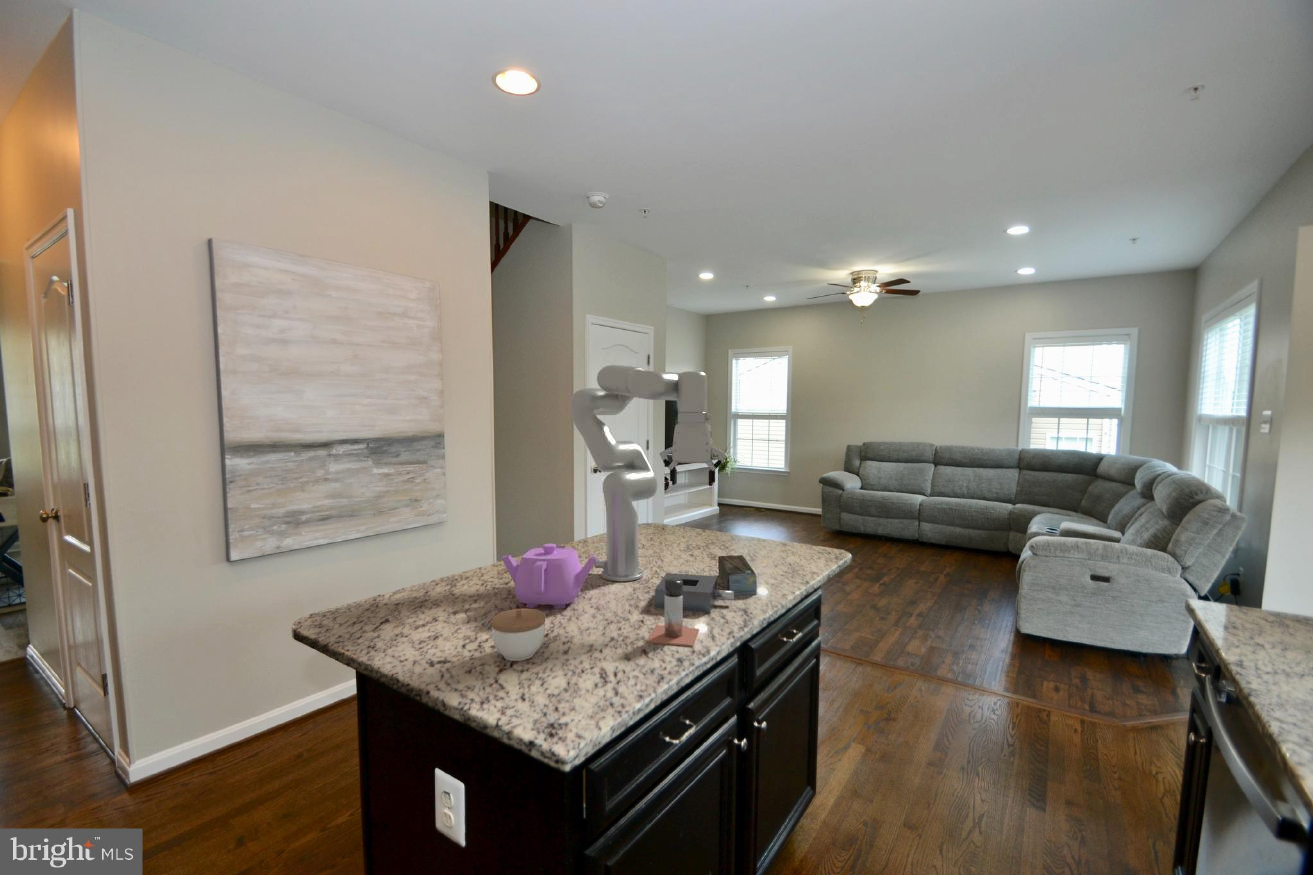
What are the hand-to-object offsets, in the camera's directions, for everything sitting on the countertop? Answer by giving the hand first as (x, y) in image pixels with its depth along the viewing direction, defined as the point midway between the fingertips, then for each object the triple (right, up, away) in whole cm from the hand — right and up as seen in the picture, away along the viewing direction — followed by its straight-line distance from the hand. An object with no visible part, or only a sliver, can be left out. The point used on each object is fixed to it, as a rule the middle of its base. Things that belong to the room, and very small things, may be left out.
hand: (692, 484), depth 147 cm
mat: (-6, -32, -23) cm, 39 cm away
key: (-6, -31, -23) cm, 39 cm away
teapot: (-37, -31, 0) cm, 48 cm away
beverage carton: (+13, -30, +14) cm, 36 cm away
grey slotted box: (+1, -30, -1) cm, 30 cm away
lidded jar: (-38, -32, -32) cm, 59 cm away
